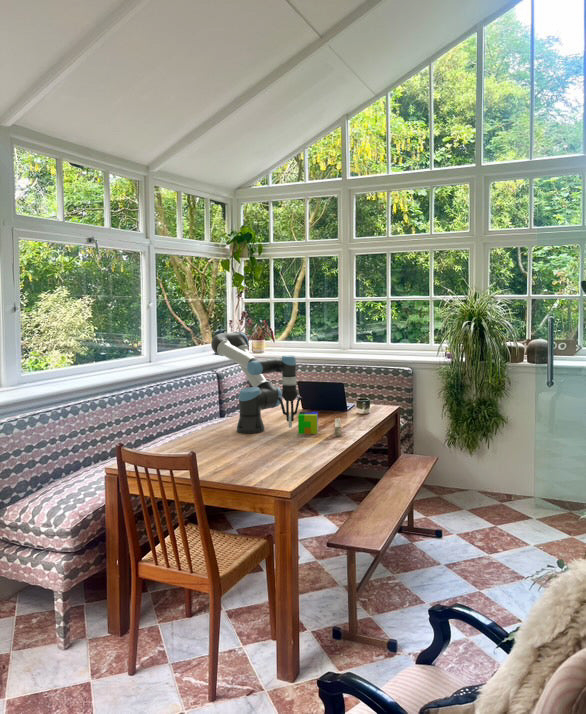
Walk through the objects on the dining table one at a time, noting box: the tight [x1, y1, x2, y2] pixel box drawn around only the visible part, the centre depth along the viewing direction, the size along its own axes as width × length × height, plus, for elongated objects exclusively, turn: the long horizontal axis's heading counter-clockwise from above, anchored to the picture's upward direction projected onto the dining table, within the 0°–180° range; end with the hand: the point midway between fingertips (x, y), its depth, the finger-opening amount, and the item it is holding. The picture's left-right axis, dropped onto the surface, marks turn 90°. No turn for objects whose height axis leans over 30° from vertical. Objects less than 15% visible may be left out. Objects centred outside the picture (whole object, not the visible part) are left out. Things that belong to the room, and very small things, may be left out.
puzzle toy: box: [297, 411, 319, 435], centre depth 338 cm, size 10×10×10 cm
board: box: [334, 417, 342, 437], centre depth 337 cm, size 3×22×5 cm, turn 176°
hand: (290, 427), depth 339 cm, fingers closed
